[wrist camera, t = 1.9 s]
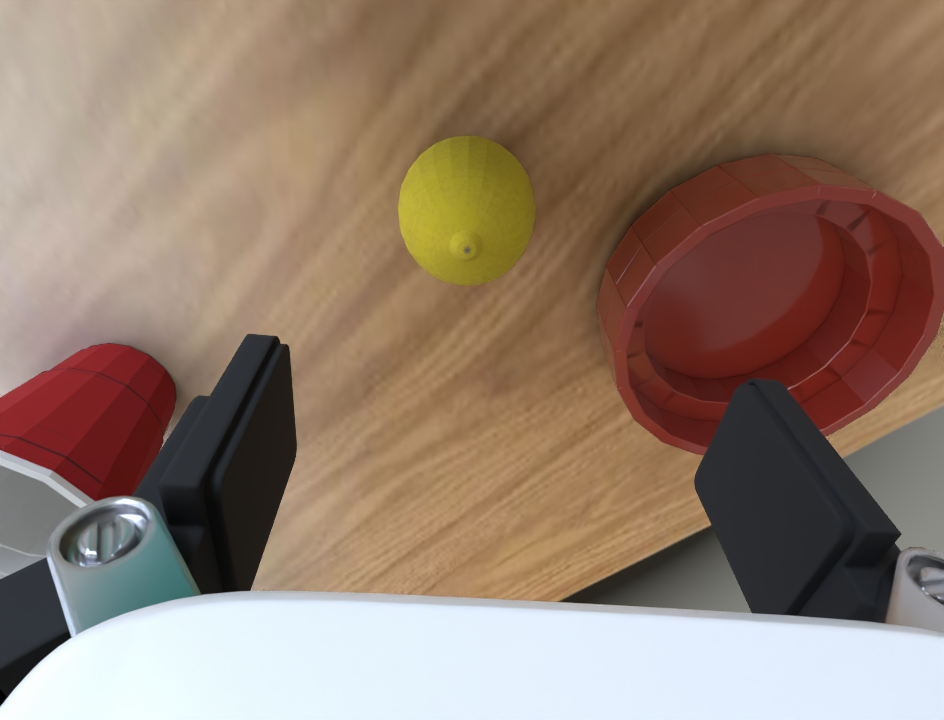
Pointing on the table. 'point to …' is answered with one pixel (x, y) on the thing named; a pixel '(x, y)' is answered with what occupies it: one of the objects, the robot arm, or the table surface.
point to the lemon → (466, 210)
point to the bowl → (768, 296)
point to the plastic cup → (76, 442)
